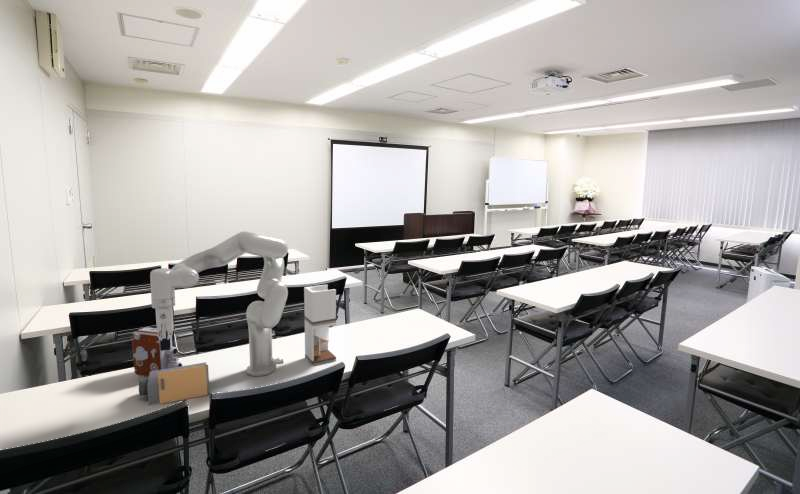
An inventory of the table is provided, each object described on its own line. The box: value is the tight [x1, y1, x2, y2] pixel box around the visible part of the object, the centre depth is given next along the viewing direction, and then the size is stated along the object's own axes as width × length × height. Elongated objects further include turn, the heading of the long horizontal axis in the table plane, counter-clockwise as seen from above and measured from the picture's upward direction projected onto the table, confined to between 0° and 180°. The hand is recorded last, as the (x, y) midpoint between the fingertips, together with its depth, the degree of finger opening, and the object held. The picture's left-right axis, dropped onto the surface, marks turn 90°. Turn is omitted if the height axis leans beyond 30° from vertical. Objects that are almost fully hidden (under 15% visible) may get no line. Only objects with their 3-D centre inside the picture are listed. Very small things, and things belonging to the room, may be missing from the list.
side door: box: [158, 364, 210, 405], centre depth 151 cm, size 17×2×12 cm, turn 118°
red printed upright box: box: [131, 326, 183, 378], centre depth 170 cm, size 9×19×20 cm, turn 78°
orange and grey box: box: [138, 361, 207, 406], centre depth 156 cm, size 23×12×8 cm, turn 118°
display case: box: [303, 284, 337, 367], centre depth 188 cm, size 11×11×35 cm
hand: (165, 349), depth 149 cm, fingers closed
